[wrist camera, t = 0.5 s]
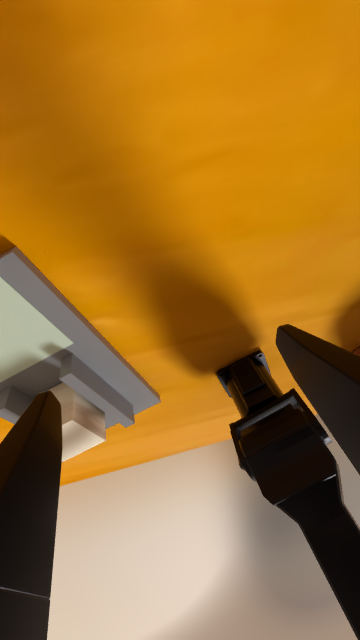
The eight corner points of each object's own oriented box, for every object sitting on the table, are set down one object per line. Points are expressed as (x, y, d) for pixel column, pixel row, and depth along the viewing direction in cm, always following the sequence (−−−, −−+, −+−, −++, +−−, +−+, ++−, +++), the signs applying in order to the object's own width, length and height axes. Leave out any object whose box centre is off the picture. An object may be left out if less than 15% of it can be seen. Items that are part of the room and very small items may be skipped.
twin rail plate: (159, 395, 34) (164, 419, 31) (67, 441, 35) (64, 468, 32) (15, 246, 19) (2, 267, 16) (-137, 334, 20) (-173, 368, 17)
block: (104, 398, 30) (105, 440, 26) (67, 417, 30) (62, 461, 26) (75, 375, 26) (71, 420, 22) (33, 397, 27) (23, 444, 23)
